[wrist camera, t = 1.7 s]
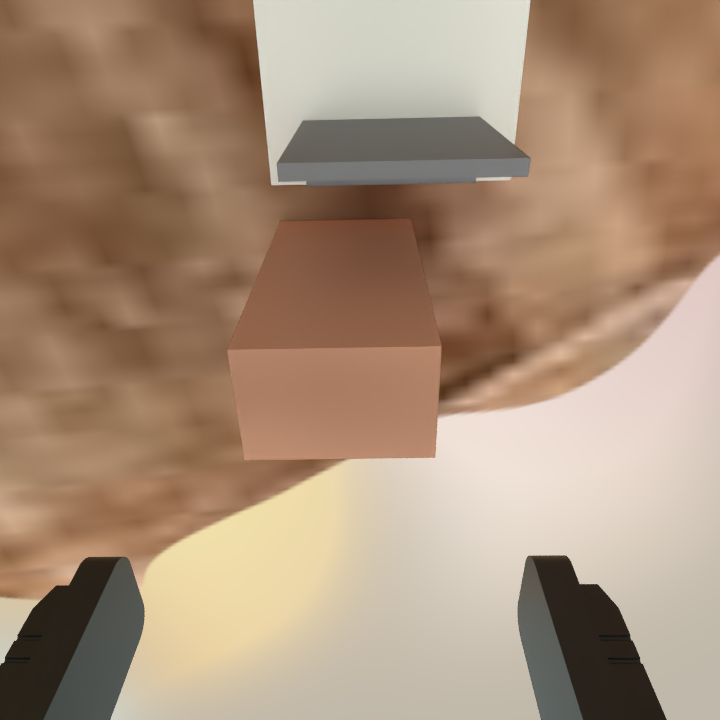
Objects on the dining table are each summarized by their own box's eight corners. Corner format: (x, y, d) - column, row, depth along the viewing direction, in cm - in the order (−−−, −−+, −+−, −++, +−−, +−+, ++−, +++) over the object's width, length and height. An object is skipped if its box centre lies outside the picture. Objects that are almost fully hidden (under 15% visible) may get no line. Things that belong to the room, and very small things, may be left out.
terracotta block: (287, 300, 28) (244, 460, 18) (280, 221, 26) (226, 349, 16) (408, 298, 28) (435, 457, 18) (411, 218, 26) (441, 346, 16)
